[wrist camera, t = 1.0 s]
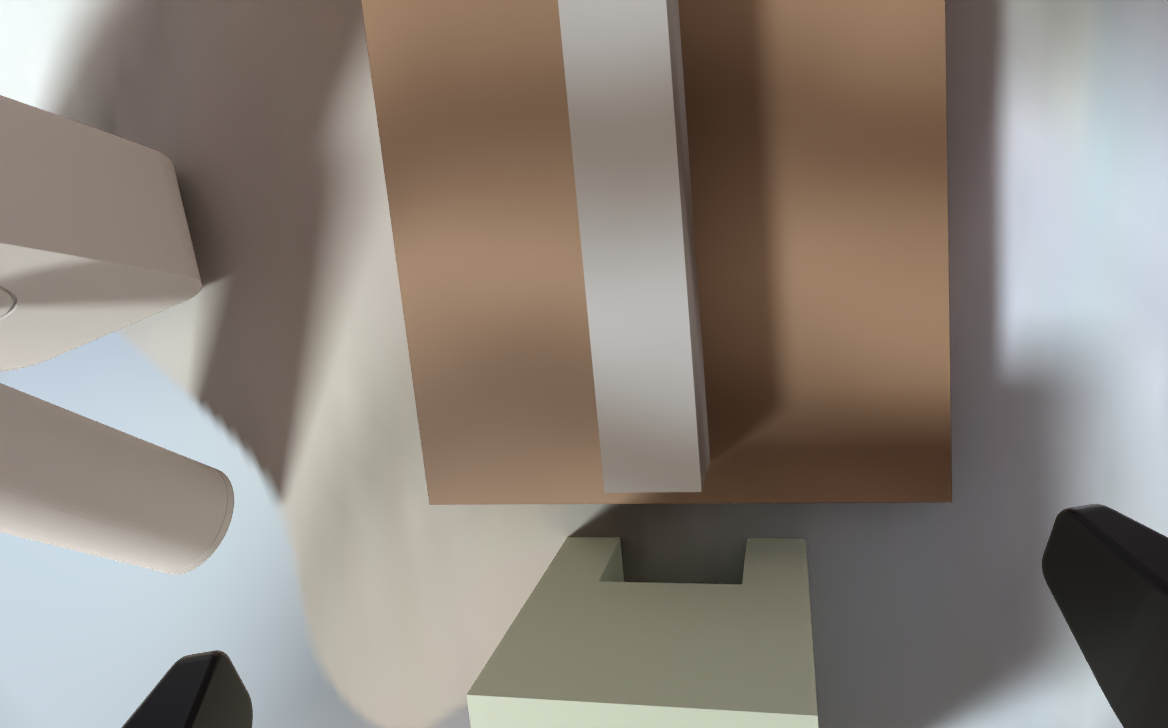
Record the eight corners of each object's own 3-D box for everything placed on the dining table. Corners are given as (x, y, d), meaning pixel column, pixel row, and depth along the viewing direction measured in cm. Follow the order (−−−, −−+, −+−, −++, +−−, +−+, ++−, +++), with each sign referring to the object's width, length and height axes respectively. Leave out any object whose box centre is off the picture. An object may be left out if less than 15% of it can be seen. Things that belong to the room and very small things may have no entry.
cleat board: (938, 478, 18) (986, 563, 14) (453, 484, 21) (370, 555, 17) (925, -312, 15) (979, -507, 11) (367, -176, 18) (241, -290, 14)
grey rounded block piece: (114, 595, 24) (-360, 727, 15) (47, 274, 25) (-430, 204, 16) (334, 529, 22) (-60, 634, 12) (247, 180, 23) (-171, 32, 14)
